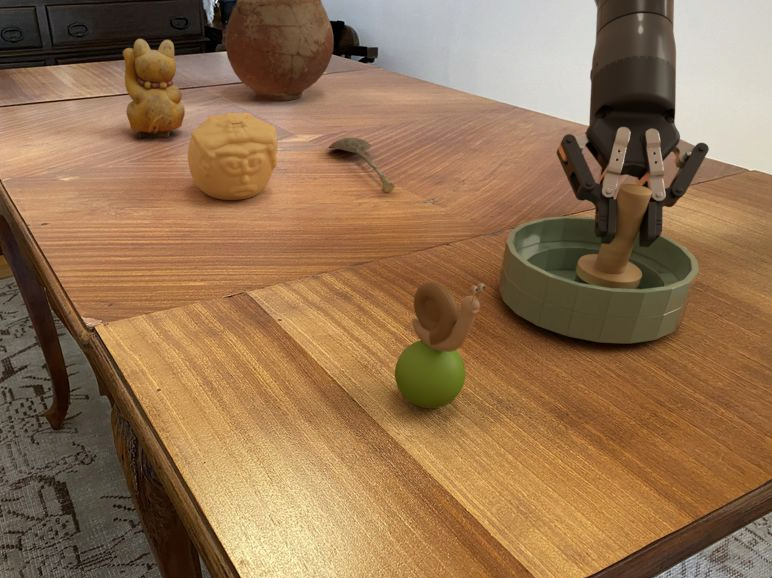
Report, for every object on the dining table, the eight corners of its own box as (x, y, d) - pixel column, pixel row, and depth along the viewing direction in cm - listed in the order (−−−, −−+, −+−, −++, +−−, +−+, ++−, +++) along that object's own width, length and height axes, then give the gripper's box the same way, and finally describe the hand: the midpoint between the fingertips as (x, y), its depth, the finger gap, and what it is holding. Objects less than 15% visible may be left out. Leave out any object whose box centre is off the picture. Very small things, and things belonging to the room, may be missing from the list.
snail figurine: (432, 438, 53) (451, 296, 46) (378, 395, 57) (389, 260, 51) (483, 414, 55) (509, 276, 49) (428, 375, 60) (445, 244, 53)
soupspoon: (362, 150, 116) (324, 154, 115) (362, 129, 114) (323, 133, 113) (410, 190, 98) (365, 196, 97) (411, 166, 96) (365, 172, 95)
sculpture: (204, 212, 90) (198, 127, 85) (182, 183, 100) (175, 105, 94) (287, 201, 94) (287, 119, 88) (258, 174, 103) (256, 98, 98)
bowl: (643, 270, 77) (658, 219, 74) (709, 354, 63) (731, 295, 60) (485, 264, 78) (494, 213, 75) (514, 346, 64) (526, 287, 61)
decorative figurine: (183, 126, 125) (176, 35, 117) (189, 139, 118) (182, 43, 110) (128, 130, 123) (116, 37, 115) (130, 143, 116) (118, 45, 108)
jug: (234, 83, 155) (228, -76, 139) (332, 85, 155) (337, -74, 139) (220, 107, 137) (211, -73, 121) (331, 110, 136) (337, -71, 120)
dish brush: (625, 284, 73) (661, 181, 67) (638, 313, 68) (678, 205, 62) (566, 276, 73) (596, 174, 67) (574, 304, 68) (608, 197, 62)
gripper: (568, 49, 66) (559, 220, 62) (727, 56, 64) (727, 232, 61) (549, 95, 73) (540, 251, 70) (691, 103, 72) (690, 263, 68)
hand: (627, 241), depth 65 cm, fingers closed on dish brush, 3 cm apart
